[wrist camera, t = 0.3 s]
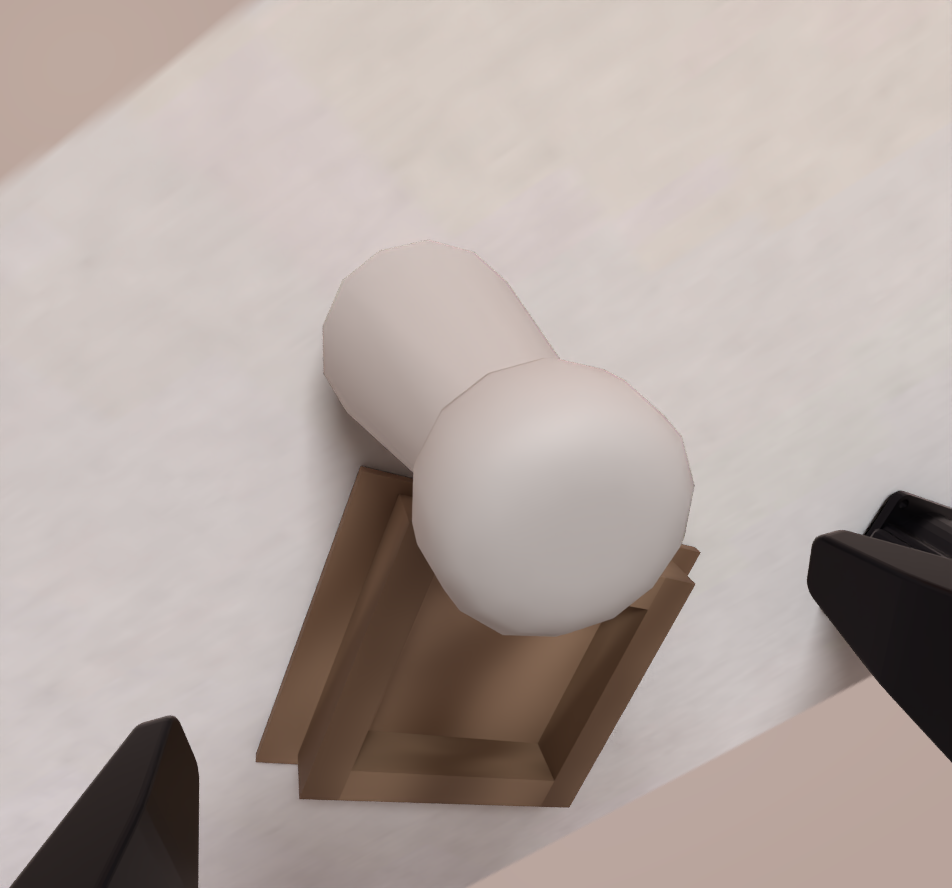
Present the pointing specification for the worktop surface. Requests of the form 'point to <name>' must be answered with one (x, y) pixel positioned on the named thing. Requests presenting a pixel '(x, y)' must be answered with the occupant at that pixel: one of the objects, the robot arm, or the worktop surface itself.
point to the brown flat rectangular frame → (447, 677)
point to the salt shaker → (506, 444)
